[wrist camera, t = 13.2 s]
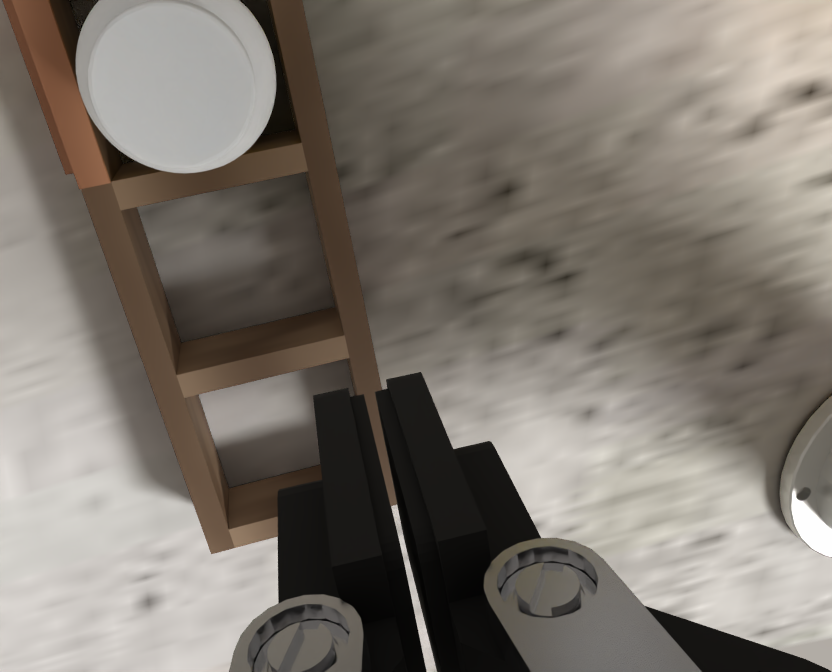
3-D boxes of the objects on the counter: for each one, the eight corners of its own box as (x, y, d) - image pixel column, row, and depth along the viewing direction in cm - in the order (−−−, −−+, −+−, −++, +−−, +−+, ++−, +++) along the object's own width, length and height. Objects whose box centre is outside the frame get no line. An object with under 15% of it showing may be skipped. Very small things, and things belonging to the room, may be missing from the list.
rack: (274, -99, 26) (280, -110, 23) (392, 464, 36) (405, 504, 33) (4, -55, 25) (-26, -61, 22) (204, 513, 35) (201, 559, 32)
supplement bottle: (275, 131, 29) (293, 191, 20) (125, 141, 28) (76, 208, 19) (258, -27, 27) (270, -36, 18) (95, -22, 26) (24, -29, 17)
